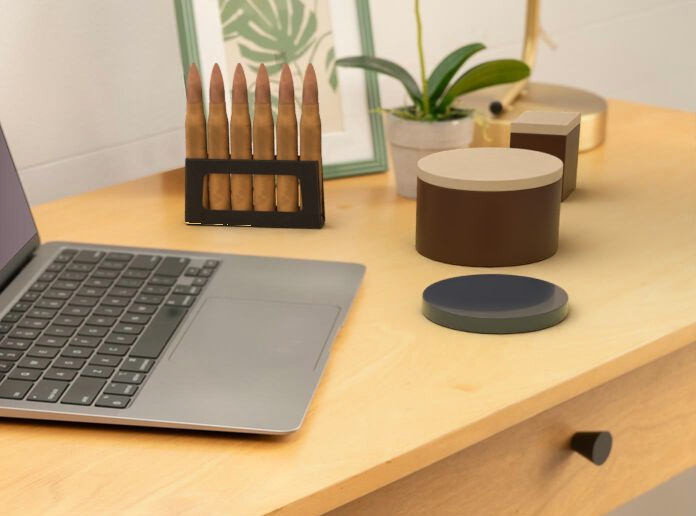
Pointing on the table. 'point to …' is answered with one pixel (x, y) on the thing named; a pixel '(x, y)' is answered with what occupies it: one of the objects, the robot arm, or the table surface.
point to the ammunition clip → (241, 165)
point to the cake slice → (550, 139)
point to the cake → (488, 206)
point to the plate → (495, 303)
